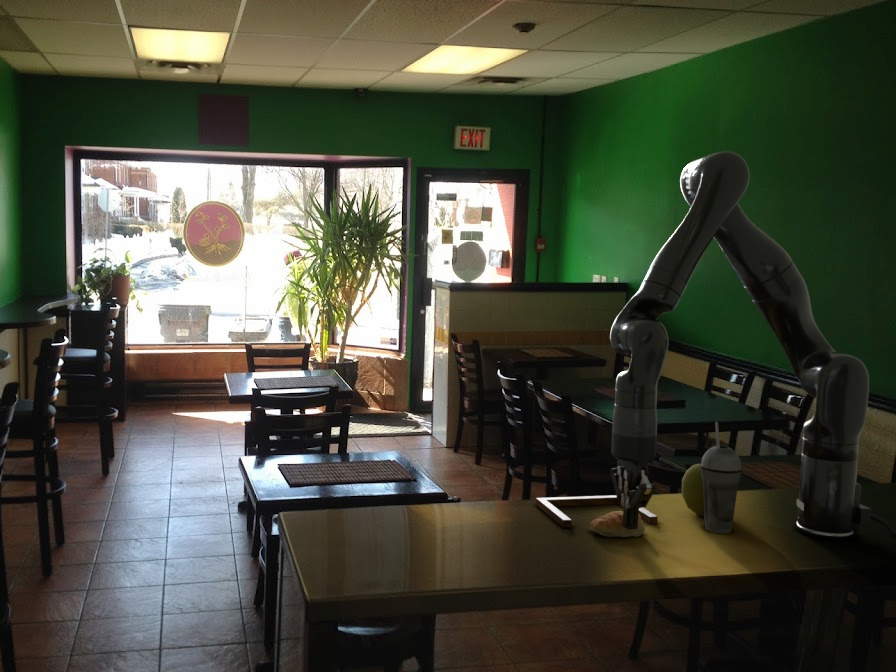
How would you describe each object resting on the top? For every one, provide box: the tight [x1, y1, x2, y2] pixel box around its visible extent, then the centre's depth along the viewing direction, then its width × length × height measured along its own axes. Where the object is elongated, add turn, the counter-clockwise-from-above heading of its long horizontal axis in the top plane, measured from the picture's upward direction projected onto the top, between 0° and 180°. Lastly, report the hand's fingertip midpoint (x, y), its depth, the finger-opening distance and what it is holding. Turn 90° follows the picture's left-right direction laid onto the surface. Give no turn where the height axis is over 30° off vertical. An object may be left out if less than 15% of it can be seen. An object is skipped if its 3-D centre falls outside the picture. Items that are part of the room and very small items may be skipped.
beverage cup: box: [700, 421, 743, 534], centre depth 164 cm, size 7×7×20 cm
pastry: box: [589, 510, 646, 538], centre depth 161 cm, size 9×7×4 cm
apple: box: [681, 463, 704, 517], centre depth 173 cm, size 10×10×11 cm
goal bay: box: [535, 494, 659, 528], centre depth 172 cm, size 19×15×1 cm
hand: (630, 527), depth 157 cm, fingers closed
